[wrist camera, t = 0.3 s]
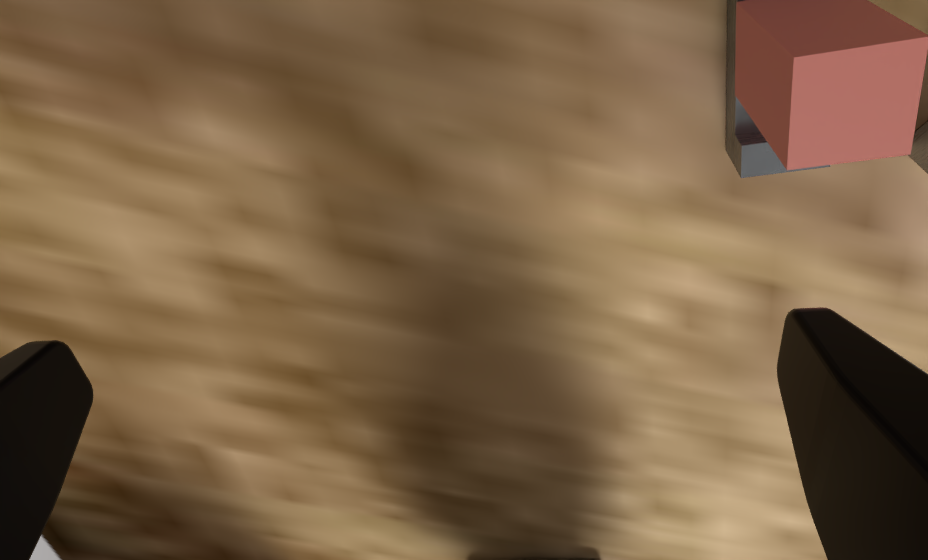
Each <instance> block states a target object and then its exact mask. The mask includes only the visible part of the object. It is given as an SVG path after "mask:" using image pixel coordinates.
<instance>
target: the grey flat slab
mask: <svg viewBox="0 0 928 560" xmlns="http://www.w3.org/2000/svg"><path fill="white" fill-rule="evenodd" d="M908 156H909V157H910V158H911V159H912V160H914V161H915V162H916V163H917V164H918V165H919V166H920V167H921V168H922V169H923V170H924V171H925V172H926V173H927V174H928V121H927V122H926V123H925V124H924V125H923V126H921V127H920V128H919V129H918V130H917V131H916V132H914V137H913V144H912V150H911V154H910V155H908Z"/></svg>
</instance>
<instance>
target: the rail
mask: <svg viewBox="0 0 928 560" xmlns="http://www.w3.org/2000/svg"><path fill="white" fill-rule="evenodd" d="M739 1H745V0H727V79H726V152H727V153H728V155H729V157H730V159H731V161H732V163H733V164H734V166H735V168H736V170H737V172H738V174H739V175H740V177H741V178H745V177H753V176H760V175H768V174H776V173H784V172H792V171H799V170H807V169H815V168H823V167H830V165H825V166H817V167H809V168H801V169H794V170H786V168H785V167H784V165H783V164H782V163H781V161H780V160H779V158H778V157H777V155H776V154H775V152H774V151H773V149H772V148H771V147H770V145H769V144H768V142H767V141H766V139H765V138H764V136H763V135H762V133H761V132H760V131H759V129H758V128H757V126H756V125H755V123H754V122H753V120H752V119H751V117H750V116H749V115H748V113H747V112H746V110H745V109H744V107H743V106H742V104H741V103H740V101H739V100H738V99H737V97H736V96H735V56H736V2H739Z"/></svg>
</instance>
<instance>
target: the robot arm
mask: <svg viewBox="0 0 928 560" xmlns="http://www.w3.org/2000/svg"><path fill="white" fill-rule="evenodd" d="M777 377H778V383H779V388H780V392H781V396H782V401H783V405H784V409H785V413H786V417H787V422H788V426H789V430H790V434H791V438H792V443H793V447H794V451H795V455H796V459H797V464H798V468H799V472H800V476H801V480H802V484H803V488H804V492H805V496H806V500H807V503H808V506H809V509H810V512H811V515H812V518H813V521H814V524H815V526H816V529H817V532H818V534H819V537H820V540H821V542H822V545H823V548H824V551H825V553H826V556H827V559H828V560H928V374H927V373H925V372H924V371H922V370H921V369H919V368H918V367H916V366H915V365H913V364H912V363H911V362H909V361H908V360H906V359H905V358H903V357H902V356H900V355H899V354H897V353H896V352H894V351H893V350H891V349H890V348H888V347H887V346H885V345H884V344H882V343H881V342H879V341H878V340H876V339H875V338H873V337H872V336H870V335H869V334H867V333H866V332H864V331H863V330H861V329H860V328H858V327H857V326H855V325H854V324H852V323H851V322H849V321H848V320H846V319H845V318H843V317H842V316H840V315H839V314H837V313H836V312H834V311H833V310H831V309H828V308H800V309H793V310H791V311H790V312H788V314H787V316H786V318H785V323H784V328H783V334H782V340H781V345H780V351H779V356H778V363H777ZM92 402H93V389H92V385H91V383H90V381H89V379H88V378H87V376H86V374H85V373H84V371H83V369H82V368H81V366H80V364H79V362H78V361H77V359H76V357H75V356H74V354H73V352H72V351H71V349H70V348H69V346H68V345H66V344H65V343H63V342H61V341H57V340H52V341H34V342H29V343H26V344H24V345H23V346H21V347H19V348H17V349H15V350H14V351H12V352H10V353H8V354H6V355H5V356H3V357H1V358H0V560H29V559H30V557H31V555H32V553H33V551H34V549H35V546H36V544H37V542H38V540H39V538H40V536H41V534H42V532H43V530H44V528H45V526H46V524H47V521H48V519H49V517H50V515H51V513H52V510H53V508H54V506H55V503H56V501H57V498H58V496H59V493H60V491H61V488H62V485H63V482H64V480H65V477H66V474H67V471H68V469H69V466H70V463H71V460H72V458H73V455H74V452H75V449H76V447H77V444H78V441H79V439H80V436H81V433H82V430H83V428H84V425H85V422H86V419H87V417H88V414H89V411H90V408H91V406H92Z"/></svg>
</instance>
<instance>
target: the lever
mask: <svg viewBox="0 0 928 560" xmlns="http://www.w3.org/2000/svg"><path fill="white" fill-rule="evenodd" d="M927 51H928V35H927V34H925V33H923V32H921V31H920V30H918V29H916V28H914V27H913V26H911V25H909V24H907V23H906V22H904V21H902V20H900V19H899V18H897V17H895V16H894V15H892V14H890V13H888V12H887V11H885V10H883V9H881V8H880V7H878V6H876V5H874V4H873V3H871V2H869V1H867V0H745V1H739V2H736V56H735V96H736V97H737V99H738V100H739V101H740V103H741V104H742V106H743V107H744V109H745V110H746V112H747V113H748V115H749V116H750V117H751V119H752V120H753V122H754V123H755V125H756V126H757V128H758V129H759V131H760V132H761V133H762V135H763V136H764V138H765V139H766V141H767V142H768V144H769V145H770V147H771V148H772V149H773V151H774V152H775V154H776V155H777V157H778V158H779V160H780V161H781V163H782V164H783V165H784V167H785V168H786V170H794V169H801V168H809V167H817V166H825V165H833V164H840V163H848V162H856V161H864V160H872V159H879V158H887V157H895V156H903V155H910V154H911V150H912V144H913V137H914V131H915V125H916V119H917V113H918V107H919V101H920V94H921V88H922V82H923V76H924V70H925V64H926V58H927Z"/></svg>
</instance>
